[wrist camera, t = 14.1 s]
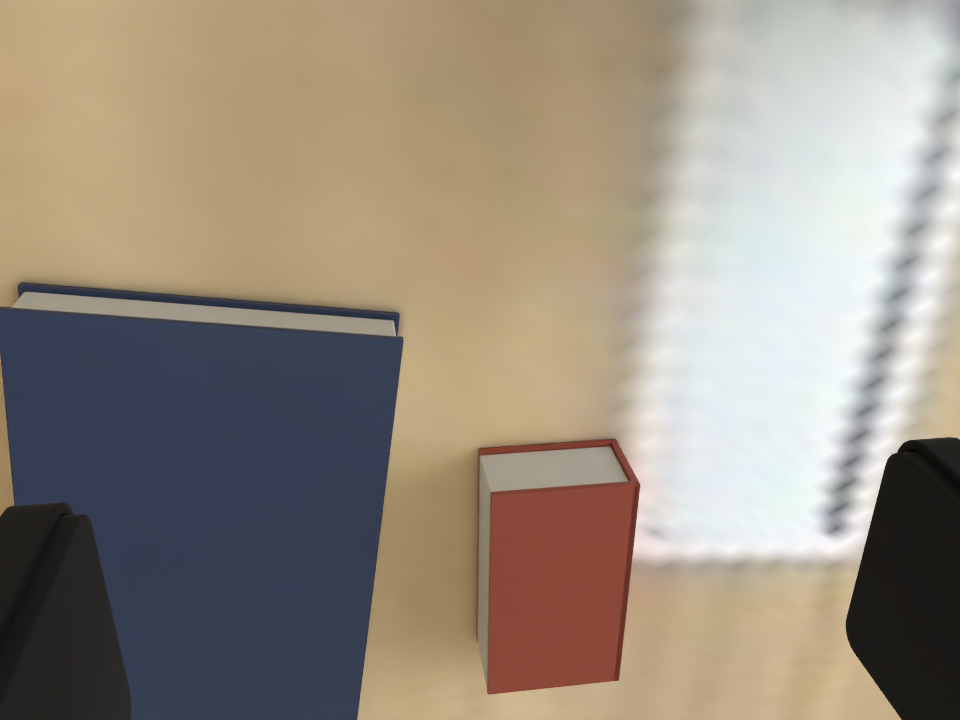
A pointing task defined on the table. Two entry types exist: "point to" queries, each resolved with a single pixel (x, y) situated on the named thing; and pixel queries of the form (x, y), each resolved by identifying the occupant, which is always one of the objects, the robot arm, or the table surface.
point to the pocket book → (553, 563)
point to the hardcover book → (214, 484)
